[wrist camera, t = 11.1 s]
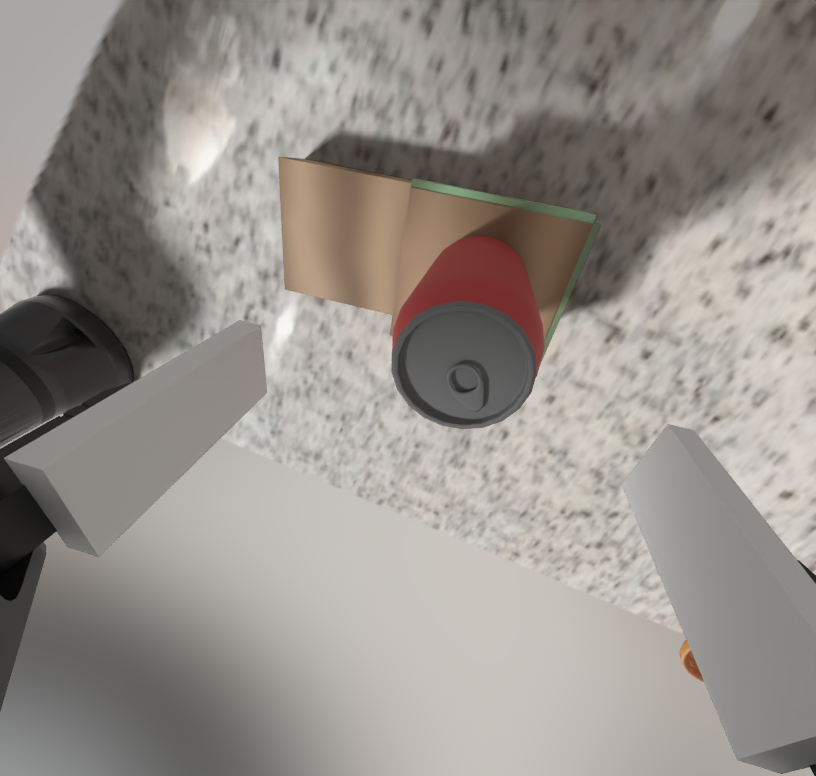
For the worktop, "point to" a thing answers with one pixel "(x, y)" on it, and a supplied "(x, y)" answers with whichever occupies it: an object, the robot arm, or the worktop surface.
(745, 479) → the worktop surface
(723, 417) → the worktop surface
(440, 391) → the beer can
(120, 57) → the worktop surface
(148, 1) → the worktop surface
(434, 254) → the step stand
